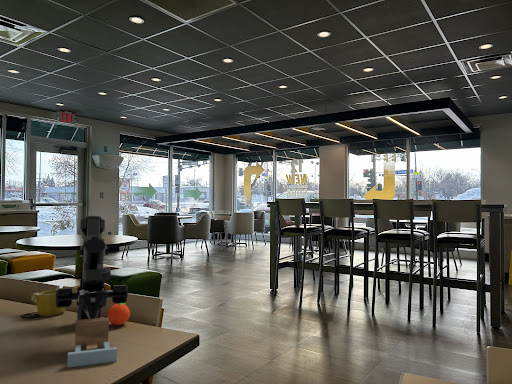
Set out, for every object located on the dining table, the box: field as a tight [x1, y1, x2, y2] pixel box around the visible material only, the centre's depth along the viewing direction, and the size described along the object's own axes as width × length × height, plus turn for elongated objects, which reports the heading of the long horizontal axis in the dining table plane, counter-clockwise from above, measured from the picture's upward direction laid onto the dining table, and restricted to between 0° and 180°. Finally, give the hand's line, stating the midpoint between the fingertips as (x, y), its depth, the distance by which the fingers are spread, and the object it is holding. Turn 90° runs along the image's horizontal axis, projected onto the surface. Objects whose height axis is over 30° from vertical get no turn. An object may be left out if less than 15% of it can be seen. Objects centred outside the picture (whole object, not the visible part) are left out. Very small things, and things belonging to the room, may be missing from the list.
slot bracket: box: [66, 341, 118, 368], centre depth 97 cm, size 6×11×3 cm, turn 114°
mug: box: [30, 288, 66, 317], centre depth 141 cm, size 12×10×10 cm
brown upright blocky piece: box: [74, 316, 110, 351], centre depth 100 cm, size 9×8×8 cm
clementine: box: [107, 302, 132, 326], centre depth 128 cm, size 8×7×7 cm
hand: (92, 322), depth 105 cm, fingers closed, pressing on brown upright blocky piece
